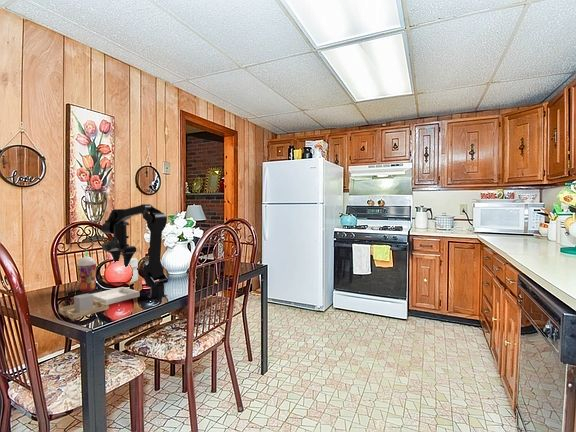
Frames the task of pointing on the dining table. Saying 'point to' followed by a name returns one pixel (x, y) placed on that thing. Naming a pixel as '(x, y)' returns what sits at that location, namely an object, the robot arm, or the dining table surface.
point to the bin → (115, 295)
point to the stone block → (83, 302)
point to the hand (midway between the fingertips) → (121, 265)
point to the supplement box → (134, 268)
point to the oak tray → (72, 314)
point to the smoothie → (86, 273)
